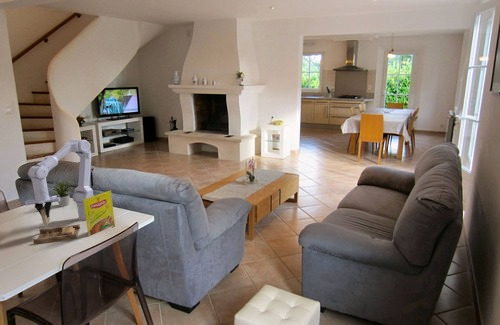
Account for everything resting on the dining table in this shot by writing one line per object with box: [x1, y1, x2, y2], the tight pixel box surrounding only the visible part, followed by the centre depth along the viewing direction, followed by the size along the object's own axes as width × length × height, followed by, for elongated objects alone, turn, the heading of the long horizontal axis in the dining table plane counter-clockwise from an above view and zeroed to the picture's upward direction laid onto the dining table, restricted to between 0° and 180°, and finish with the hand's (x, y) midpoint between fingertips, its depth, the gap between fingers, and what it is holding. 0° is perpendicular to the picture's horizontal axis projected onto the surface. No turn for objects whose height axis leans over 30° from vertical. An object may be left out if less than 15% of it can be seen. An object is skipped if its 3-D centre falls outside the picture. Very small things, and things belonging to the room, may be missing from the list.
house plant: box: [52, 179, 75, 208], centre depth 210 cm, size 14×14×16 cm
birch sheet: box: [40, 205, 51, 227], centre depth 171 cm, size 2×7×8 cm, turn 17°
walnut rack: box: [32, 224, 81, 245], centre depth 172 cm, size 18×12×3 cm, turn 106°
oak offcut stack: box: [61, 225, 75, 236], centre depth 173 cm, size 5×8×2 cm, turn 16°
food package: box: [83, 189, 116, 237], centre depth 175 cm, size 15×1×20 cm, turn 149°
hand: (45, 217), depth 171 cm, fingers closed on birch sheet, 1 cm apart
